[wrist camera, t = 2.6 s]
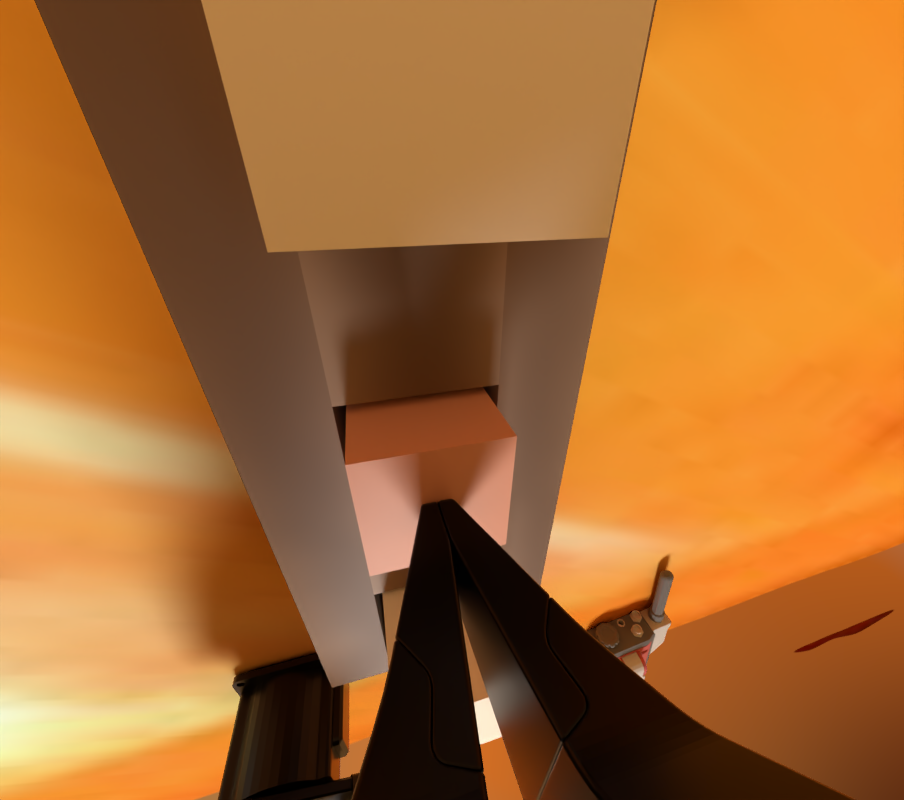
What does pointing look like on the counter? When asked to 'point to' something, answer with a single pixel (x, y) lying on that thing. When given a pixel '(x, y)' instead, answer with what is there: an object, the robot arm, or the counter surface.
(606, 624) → the walkie-talkie
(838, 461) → the counter surface
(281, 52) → the cream plug
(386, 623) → the cream plug
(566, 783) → the robot arm
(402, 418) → the plug terracotta
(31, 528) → the counter surface
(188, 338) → the socket board
